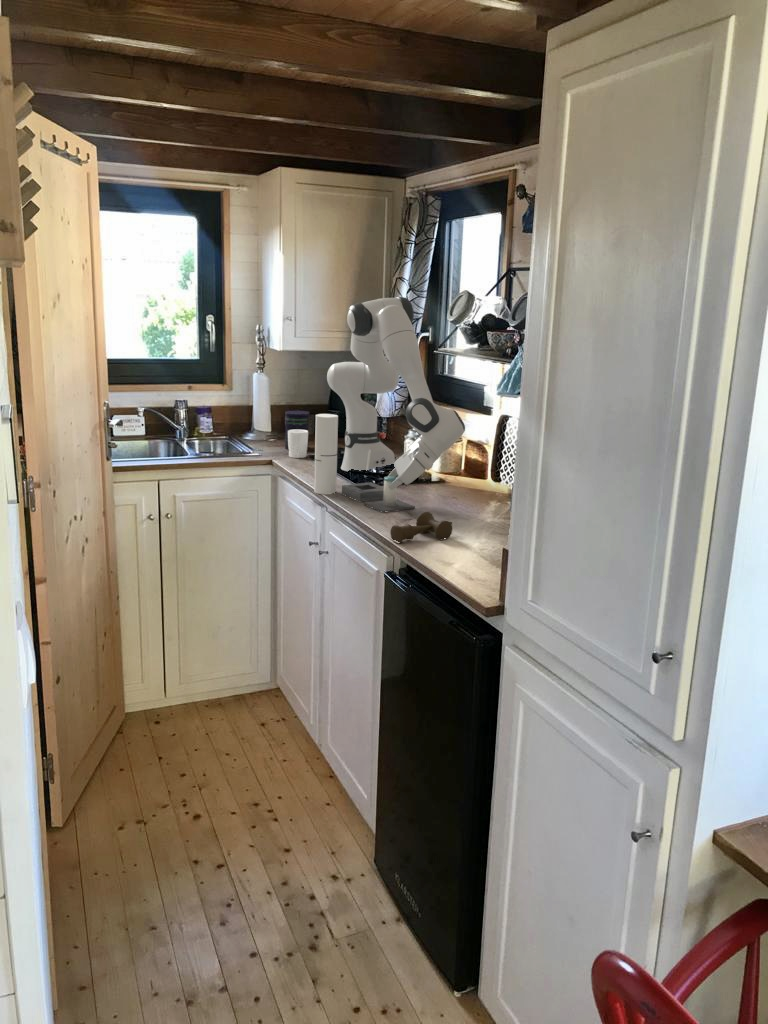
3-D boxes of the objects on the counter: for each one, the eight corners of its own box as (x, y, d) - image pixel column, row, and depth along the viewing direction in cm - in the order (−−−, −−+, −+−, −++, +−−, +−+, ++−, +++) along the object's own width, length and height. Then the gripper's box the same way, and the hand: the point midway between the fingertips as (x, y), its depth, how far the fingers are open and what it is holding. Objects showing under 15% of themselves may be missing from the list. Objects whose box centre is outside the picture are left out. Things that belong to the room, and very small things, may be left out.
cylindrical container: (333, 495, 270) (334, 417, 263) (311, 493, 271) (312, 416, 265) (338, 490, 277) (340, 414, 270) (317, 488, 278) (319, 413, 272)
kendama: (383, 540, 227) (440, 528, 238) (405, 550, 219) (462, 537, 231) (384, 519, 225) (441, 508, 236) (405, 529, 218) (464, 517, 229)
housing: (370, 490, 277) (370, 482, 277) (388, 498, 269) (389, 489, 268) (341, 494, 271) (342, 485, 271) (359, 502, 263) (360, 492, 262)
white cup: (283, 455, 328) (283, 430, 325) (300, 453, 333) (300, 428, 330) (295, 459, 322) (295, 433, 319) (311, 457, 327) (312, 431, 324)
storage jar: (281, 447, 344) (281, 410, 340) (303, 445, 349) (303, 410, 345) (290, 451, 336) (290, 414, 332) (312, 450, 340) (313, 413, 336)
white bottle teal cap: (391, 502, 261) (392, 475, 259) (398, 505, 258) (399, 478, 256) (380, 503, 259) (381, 477, 257) (387, 506, 256) (388, 479, 254)
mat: (396, 500, 266) (396, 499, 266) (414, 508, 258) (414, 506, 258) (364, 505, 260) (364, 503, 259) (382, 512, 252) (382, 510, 251)
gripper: (410, 440, 264) (378, 469, 266) (418, 453, 245) (384, 485, 246) (424, 454, 266) (392, 483, 268) (433, 468, 246) (398, 500, 248)
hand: (388, 484), depth 257 cm, fingers open, 8 cm apart
